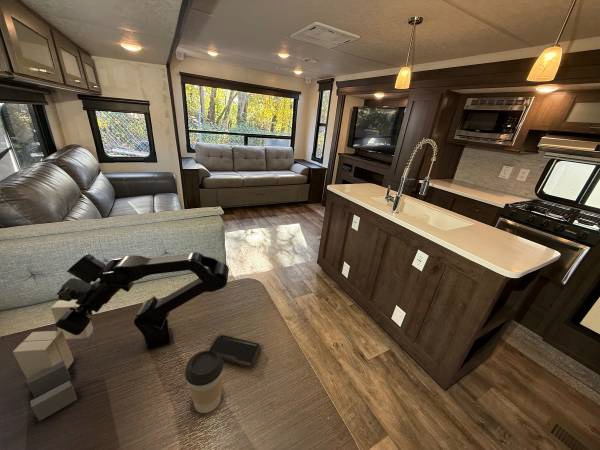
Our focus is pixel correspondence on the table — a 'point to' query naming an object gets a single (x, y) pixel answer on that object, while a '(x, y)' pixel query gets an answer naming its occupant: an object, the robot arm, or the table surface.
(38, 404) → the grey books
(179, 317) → the table surface
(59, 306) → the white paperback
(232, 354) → the phone
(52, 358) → the white books
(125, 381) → the table surface
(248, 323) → the table surface
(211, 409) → the coffee cup
